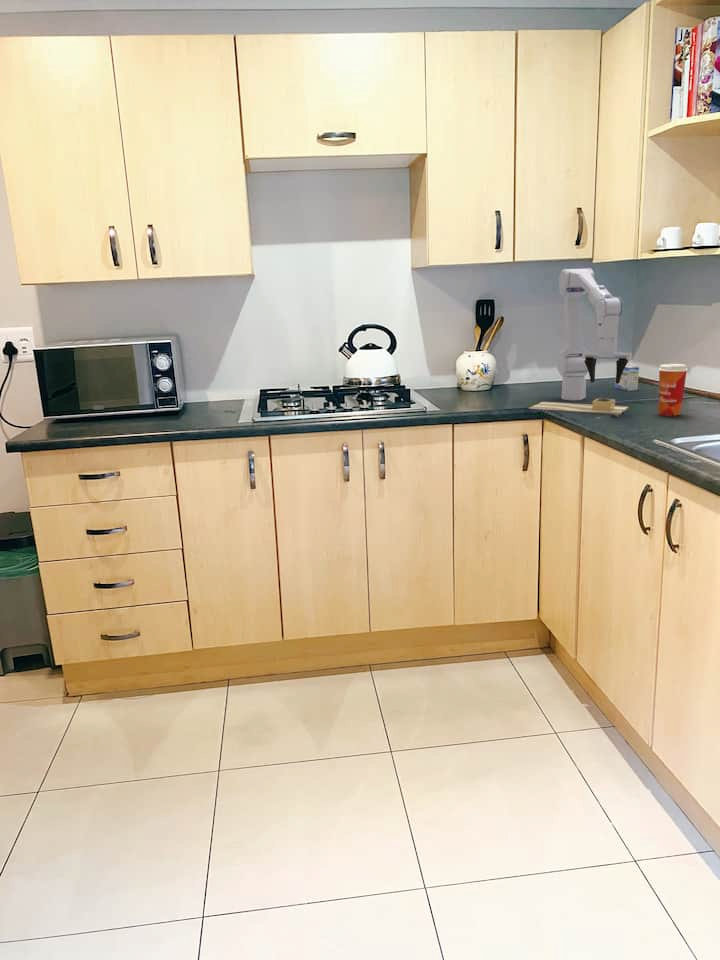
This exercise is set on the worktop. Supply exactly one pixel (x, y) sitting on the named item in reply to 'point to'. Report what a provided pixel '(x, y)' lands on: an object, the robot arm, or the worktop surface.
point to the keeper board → (577, 407)
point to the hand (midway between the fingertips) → (605, 382)
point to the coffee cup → (671, 388)
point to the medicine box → (628, 379)
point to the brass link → (603, 405)
